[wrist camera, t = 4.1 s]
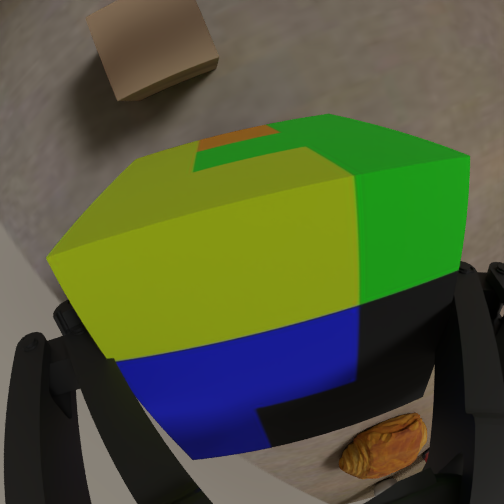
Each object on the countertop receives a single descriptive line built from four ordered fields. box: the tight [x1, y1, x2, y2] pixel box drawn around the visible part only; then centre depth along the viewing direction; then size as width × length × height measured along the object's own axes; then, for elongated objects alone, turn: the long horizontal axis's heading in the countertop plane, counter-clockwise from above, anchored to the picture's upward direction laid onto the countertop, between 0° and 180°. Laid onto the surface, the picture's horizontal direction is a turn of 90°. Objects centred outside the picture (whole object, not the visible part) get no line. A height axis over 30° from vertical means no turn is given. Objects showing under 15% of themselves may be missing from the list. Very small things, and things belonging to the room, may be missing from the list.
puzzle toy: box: [46, 114, 470, 460], centre depth 13 cm, size 10×10×10 cm
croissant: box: [339, 413, 427, 479], centre depth 38 cm, size 14×16×8 cm
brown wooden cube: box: [86, 0, 219, 101], centre depth 13 cm, size 5×5×5 cm
